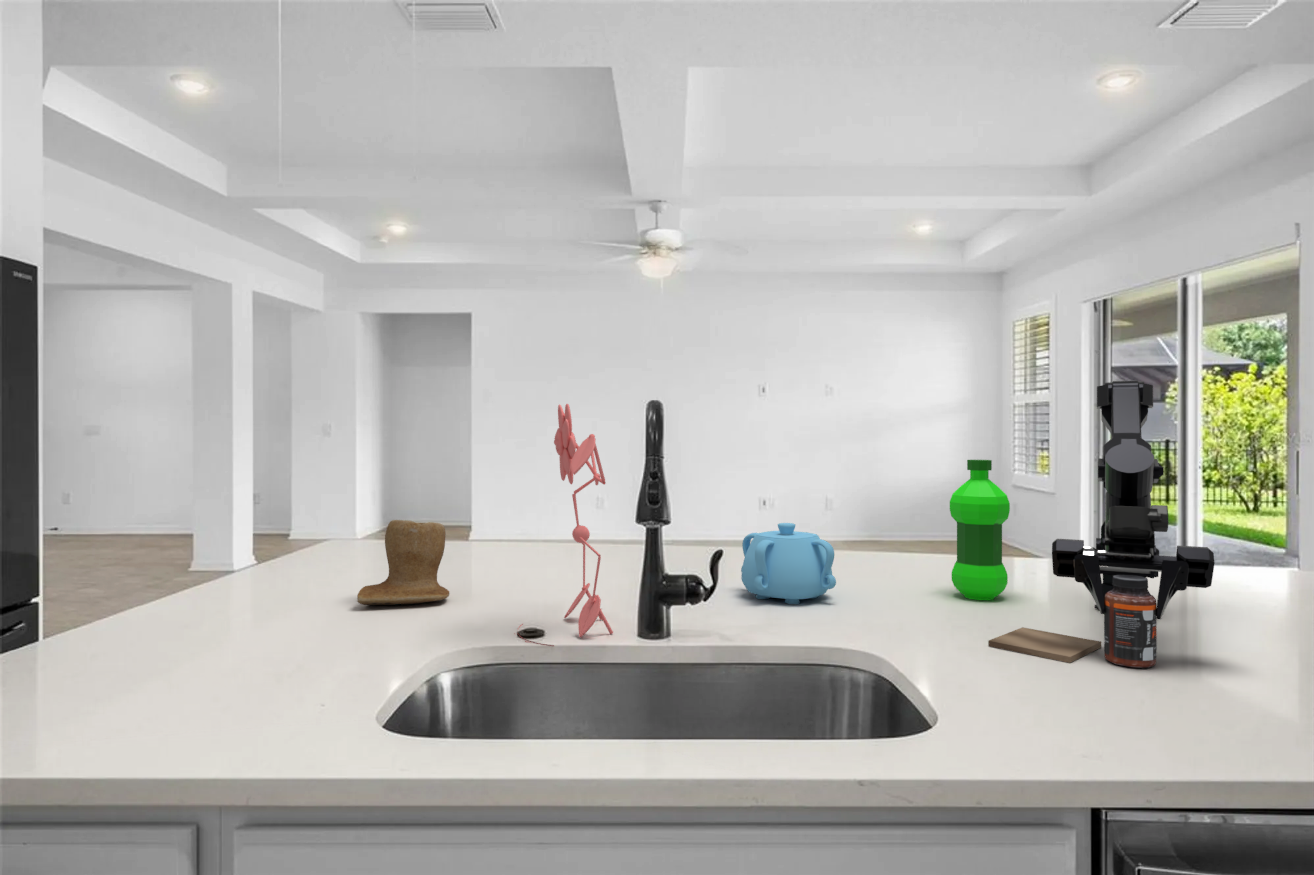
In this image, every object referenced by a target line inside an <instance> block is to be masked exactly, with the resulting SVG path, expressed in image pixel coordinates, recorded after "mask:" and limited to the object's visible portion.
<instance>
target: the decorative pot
mask: <svg viewBox="0 0 1314 875" xmlns="http://www.w3.org/2000/svg"><path fill="white" fill-rule="evenodd" d="M777 527H778V530H770V531H762V532H751V533H749V534H747V535H746V536H744V538H743V540H742V546H741V547H742V552H743V556H744V559H743V562H742V566H741V570H740V572H741V576H740V577H741V582H742V583H743V586H744V587H745V588H746V590H747V591H748V593H750V594H754V595H755V596H754V598H756V599H758V600H768V599H770V598H776V599H784V603H785V604H787V605H799V604H801V601H800V600H806V599H817V598H819V597H820V596H823V595H824V594H826V593H827V592H828V591H829V590H831V589H834V588H835V586H836V585H837V580H836V578H835V576H834V575H833V570H832V567H833V564H834V561H835V550H834V546H832V544H831V543H830V542H828V541H826V540H824V539H822V538H820V536H819V535H818V534H817V533H812V532H807V531H796V530H795V529H796V524H795V523H793V522H792V523H791V522H781V523H777Z"/></svg>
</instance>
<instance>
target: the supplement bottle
mask: <svg viewBox="0 0 1314 875" xmlns="http://www.w3.org/2000/svg"><path fill="white" fill-rule="evenodd" d="M1112 585H1113V586H1114V588H1113V589H1112V590H1111V591H1109V592H1107V593H1106V594H1105V598H1104V600H1105V614H1103V618H1104V619H1103V629H1104V630H1103V631H1104V632H1103V651H1104V658H1105V660H1106V661H1108V662H1109V663H1111V664H1114V665H1117V666H1121V667H1127V668H1134V669H1136V668H1137V669H1138V668H1139V669H1149V668H1152V667H1154V666H1155V665H1156V664H1157V650H1158V648H1157V644H1158V642H1157V641H1158V640H1157V637H1158V636H1157V634H1158V633H1157V624H1158V622H1157V621H1158V619H1157V615H1156V614H1157V598H1156V597H1155V596H1154V595H1153V594H1151V593H1150V591H1149V589H1148V588H1149V579H1148V577H1146V578H1145V577H1141V576H1134V575H1114V576H1113V583H1112Z"/></svg>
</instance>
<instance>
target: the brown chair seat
mask: <svg viewBox="0 0 1314 875" xmlns="http://www.w3.org/2000/svg"><path fill="white" fill-rule="evenodd" d="M446 536H447V535H446V528H445V526H444V524H443V523H439V522H433V521H428V522H417V521H412V520H408V519H407V520H406V519H405V520H404V519H392V520H390V521H389V523H388V525H387V527H386V529H385V534H384V548H385V554H386V558H387V564H388V576H387V578H386V579H385V580H384V581H382V582H380V583H376V584H371V585H365V586H362V588H361V589H360V590H359V591H358V593H357V598H356V599H357V600H356V602H357V603H358V604H359V605H363V606H396V605H395V604H401V605H413V604H414V605H415V604H423V603H430V602H435V601H436V602H437V601H442V600H445V599H447V598H448V597H449V596H450V594H451V593H450V591H449V590H448V589H447V588H446V587H443V586H442V585H441V584H440V583H439V582H438V571H439V567H440V564H441V561H442V559H443V556H444V552H445V546H446Z"/></svg>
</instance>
